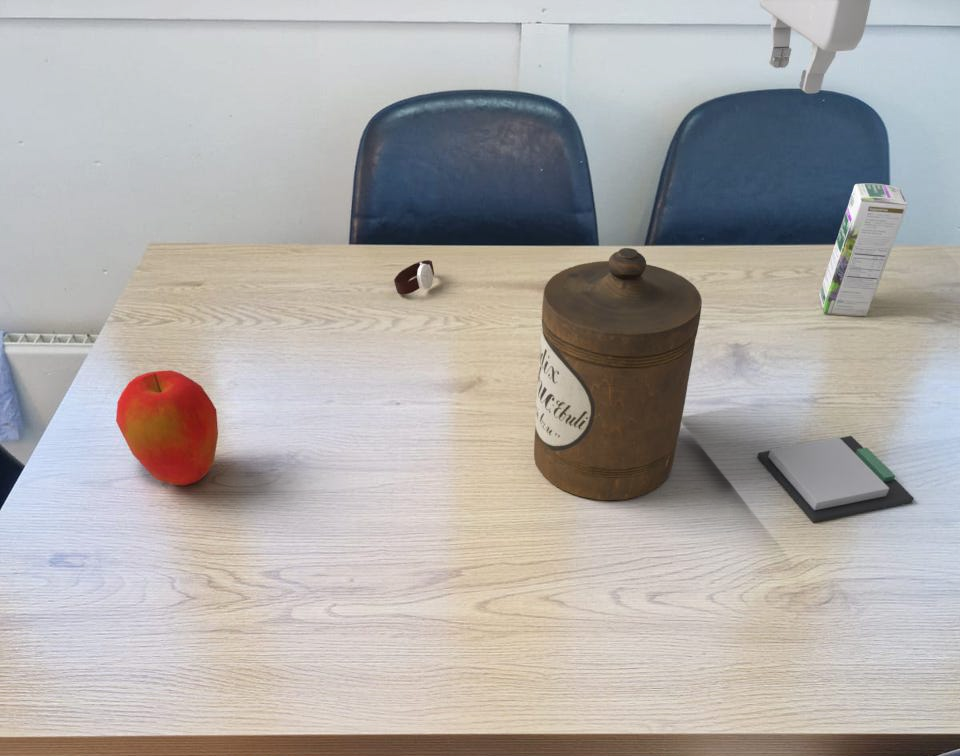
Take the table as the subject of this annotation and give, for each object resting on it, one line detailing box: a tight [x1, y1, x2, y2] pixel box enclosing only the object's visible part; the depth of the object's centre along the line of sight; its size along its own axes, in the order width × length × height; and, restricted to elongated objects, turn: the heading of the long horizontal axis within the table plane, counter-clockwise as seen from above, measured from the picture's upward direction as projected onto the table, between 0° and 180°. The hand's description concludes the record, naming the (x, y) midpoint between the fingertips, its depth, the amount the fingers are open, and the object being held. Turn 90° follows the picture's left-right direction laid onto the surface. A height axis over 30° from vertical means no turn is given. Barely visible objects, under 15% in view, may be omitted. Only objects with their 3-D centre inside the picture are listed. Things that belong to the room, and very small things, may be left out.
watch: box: [393, 259, 435, 296], centre depth 117 cm, size 8×5×4 cm, turn 155°
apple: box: [115, 369, 219, 486], centre depth 85 cm, size 9×9×12 cm
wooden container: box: [533, 247, 703, 501], centre depth 84 cm, size 15×15×22 cm
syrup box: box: [818, 183, 908, 317], centre depth 110 cm, size 6×6×14 cm
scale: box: [757, 435, 915, 524], centre depth 87 cm, size 11×11×3 cm
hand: (792, 78), depth 94 cm, fingers open, 8 cm apart
